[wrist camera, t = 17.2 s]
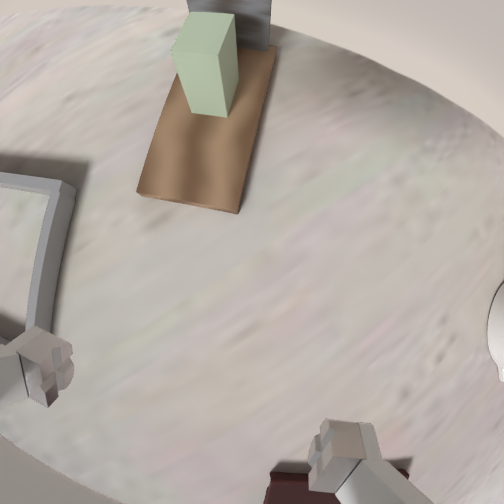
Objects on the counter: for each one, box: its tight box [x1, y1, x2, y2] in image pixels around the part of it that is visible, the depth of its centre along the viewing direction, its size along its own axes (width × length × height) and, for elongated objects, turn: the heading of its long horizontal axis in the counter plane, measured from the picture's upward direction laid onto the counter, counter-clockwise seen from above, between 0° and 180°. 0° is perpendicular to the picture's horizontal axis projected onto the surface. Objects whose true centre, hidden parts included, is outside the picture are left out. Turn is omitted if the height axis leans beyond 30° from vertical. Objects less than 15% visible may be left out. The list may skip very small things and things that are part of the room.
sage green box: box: [170, 12, 239, 118], centre depth 30 cm, size 4×6×12 cm
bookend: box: [136, 0, 277, 214], centre depth 30 cm, size 12×24×16 cm, turn 168°
